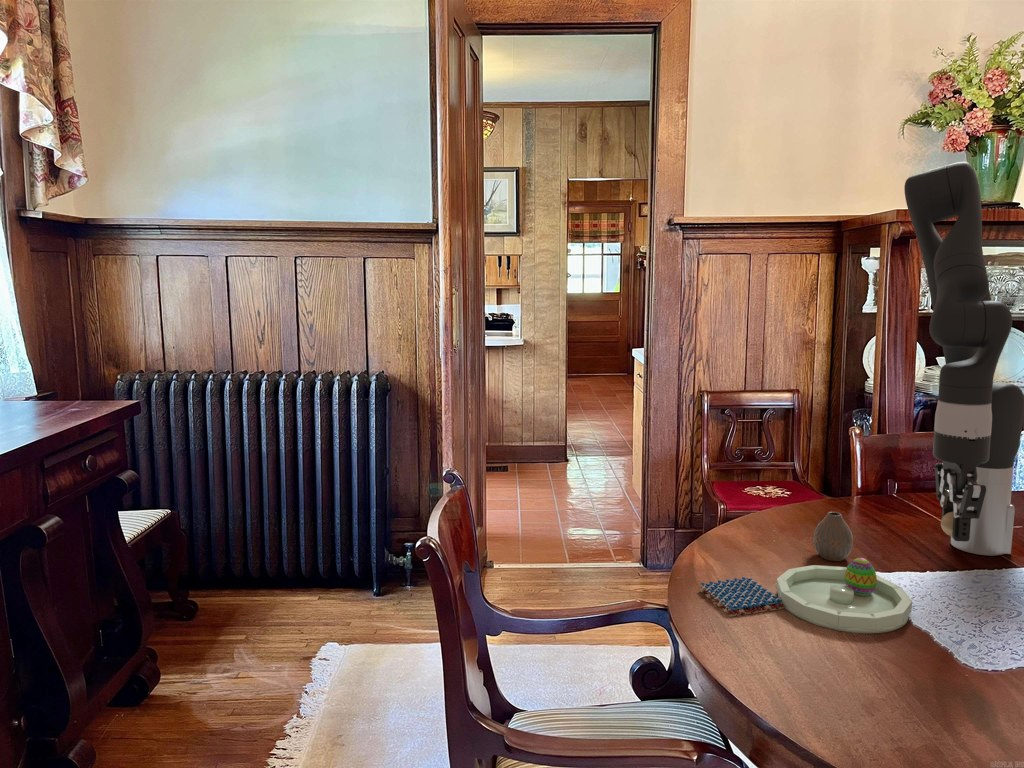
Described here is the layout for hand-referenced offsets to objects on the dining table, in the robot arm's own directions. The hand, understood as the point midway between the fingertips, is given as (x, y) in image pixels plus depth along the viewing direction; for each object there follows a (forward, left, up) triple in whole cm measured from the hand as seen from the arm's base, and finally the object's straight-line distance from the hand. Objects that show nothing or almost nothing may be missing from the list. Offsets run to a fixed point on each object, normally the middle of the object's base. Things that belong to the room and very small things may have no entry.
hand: (954, 534), depth 114 cm
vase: (+13, -20, -13) cm, 27 cm away
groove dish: (+16, +1, -13) cm, 21 cm away
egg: (+13, -3, -12) cm, 18 cm away
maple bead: (0, 0, 0) cm, 0 cm away
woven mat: (+32, +2, -13) cm, 35 cm away
